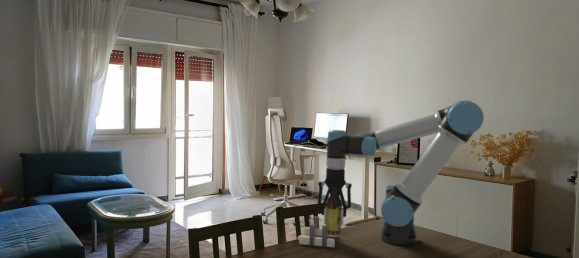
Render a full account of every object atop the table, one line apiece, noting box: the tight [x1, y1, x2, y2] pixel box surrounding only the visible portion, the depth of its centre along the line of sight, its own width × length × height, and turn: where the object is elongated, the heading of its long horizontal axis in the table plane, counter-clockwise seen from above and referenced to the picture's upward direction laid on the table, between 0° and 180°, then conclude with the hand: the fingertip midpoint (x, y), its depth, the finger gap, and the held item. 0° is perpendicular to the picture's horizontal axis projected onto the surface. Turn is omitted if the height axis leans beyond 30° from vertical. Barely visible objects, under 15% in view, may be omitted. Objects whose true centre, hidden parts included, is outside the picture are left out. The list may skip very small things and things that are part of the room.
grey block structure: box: [298, 215, 338, 248], centre depth 163 cm, size 14×13×8 cm
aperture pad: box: [296, 234, 310, 242], centre depth 165 cm, size 8×8×1 cm
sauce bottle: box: [325, 186, 343, 236], centre depth 162 cm, size 7×6×20 cm
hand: (333, 223), depth 162 cm, fingers closed on sauce bottle, 6 cm apart
